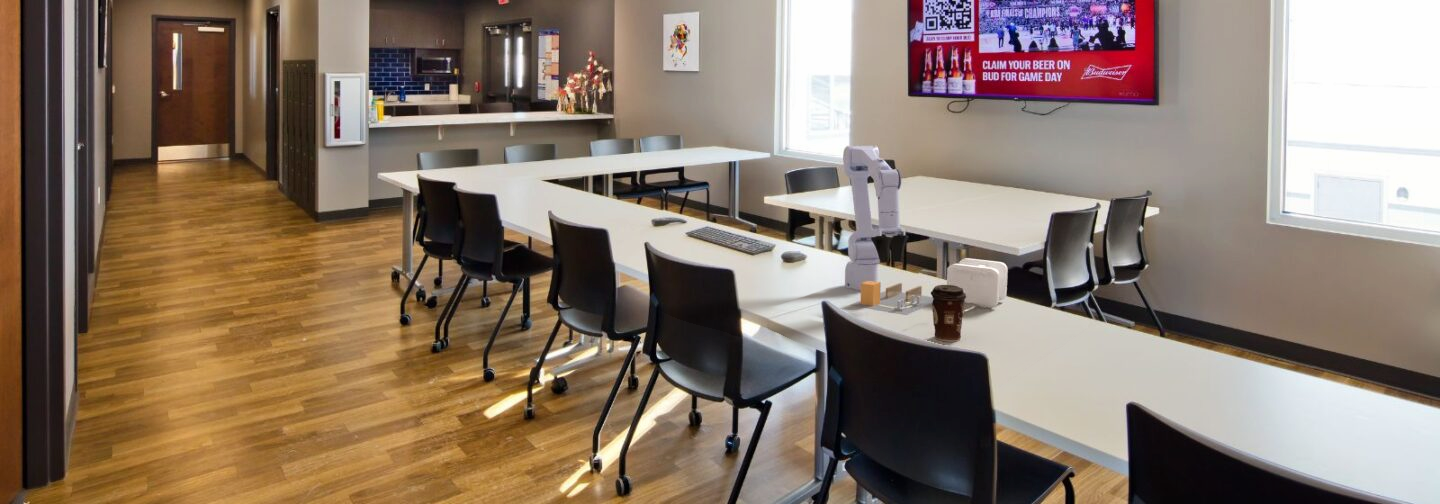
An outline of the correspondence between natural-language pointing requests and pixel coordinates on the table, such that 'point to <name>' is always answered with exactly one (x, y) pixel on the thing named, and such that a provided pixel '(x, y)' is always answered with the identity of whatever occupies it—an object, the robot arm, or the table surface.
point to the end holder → (897, 290)
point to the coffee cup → (948, 312)
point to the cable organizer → (979, 281)
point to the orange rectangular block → (870, 293)
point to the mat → (898, 303)
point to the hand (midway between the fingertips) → (891, 262)
